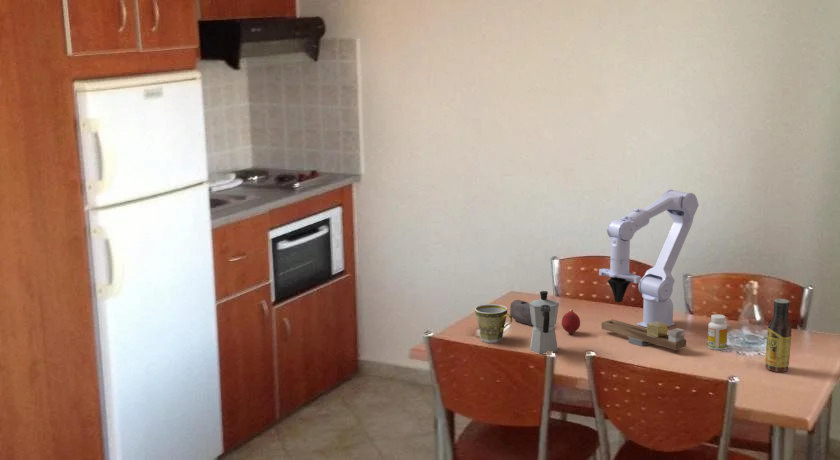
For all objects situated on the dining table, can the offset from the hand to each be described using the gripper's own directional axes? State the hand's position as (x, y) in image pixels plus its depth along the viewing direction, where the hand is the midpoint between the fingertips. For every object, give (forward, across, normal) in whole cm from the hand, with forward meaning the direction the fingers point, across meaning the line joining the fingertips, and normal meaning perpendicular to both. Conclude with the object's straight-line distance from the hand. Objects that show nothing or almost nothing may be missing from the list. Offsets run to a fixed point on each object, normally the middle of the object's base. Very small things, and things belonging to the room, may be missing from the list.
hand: (618, 301), depth 295 cm
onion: (+11, -10, -11) cm, 18 cm away
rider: (+9, +16, -1) cm, 18 cm away
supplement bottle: (+10, +28, +10) cm, 32 cm away
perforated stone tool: (+11, -26, -12) cm, 31 cm away
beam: (+10, +10, -1) cm, 15 cm away
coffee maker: (+11, -4, -29) cm, 31 cm away
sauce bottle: (+10, +50, +6) cm, 52 cm away
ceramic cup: (+11, -22, -32) cm, 40 cm away
